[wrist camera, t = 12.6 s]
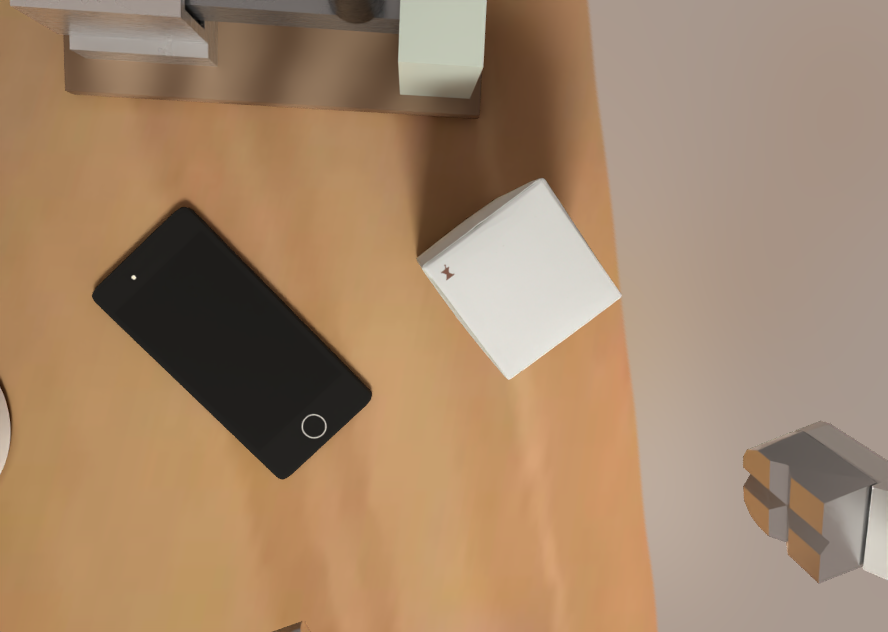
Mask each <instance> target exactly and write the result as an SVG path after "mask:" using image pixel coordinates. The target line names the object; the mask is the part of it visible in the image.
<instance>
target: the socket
mask: <svg viewBox="0 0 888 632" xmlns="http://www.w3.org/2000/svg"><path fill="white" fill-rule="evenodd" d="M486 4H487V0H400V23H399V51H398V68H399V85H400V95H416V96H432V97H448V98H465V99H470V97H471V94H472V92H473V90H474V87H475V85H476V83H477V81H478V78H479V76H480V74H481V71H482V69H483V62H484V43H485V23H486Z"/></svg>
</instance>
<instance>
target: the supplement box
mask: <svg viewBox="0 0 888 632" xmlns="http://www.w3.org/2000/svg"><path fill="white" fill-rule="evenodd" d="M417 261H418V263H419V265H420V266H421V268H422V270H423V271H424V273H425V274H426V276H427V277H428V278H429V280H430V281H431V283H432V284H433V286H434V287H435V288H436V290H437V291H438V293H439V294H440V295H441V297H442V298H443V300H444V301H445V302H446V304H447V305H448V306H449V308H450V309H451V310H452V312H453V313H454V314H455V316H456V317H457V318H458V320H459V321H460V322H461V324H462V325H463V326H464V327H465V329H466V330H467V331H468V333H469V334H470V335H471V336H472V338H473V339H474V340H475V341H476V343H477V344H478V345H479V346H480V347H481V349H482V350H483V351H484V352H485V354H486V355H487V356H488V357H489V358H490V360H491V361H492V362H493V363H494V364H495V365H496V367H497V368H498V369H499V370H500V371H501V373H502V374H503V375H504V376H505V377H506V378H507V379H511V378H512V377H514V376H515V375H517V374H518V373H520V372H521V371H522V370H524V369H525V368H527V367H528V366H529V365H531V364H532V363H534V362H535V361H536V360H538V359H539V358H540V357H542V356H543V355H544V354H546V353H547V352H548V351H550V350H551V349H552V348H554V347H555V346H556V345H558V344H559V343H561V342H562V341H563V340H565V339H566V338H567V337H569V336H570V335H571V334H573V333H574V332H575V331H577V330H578V329H580V328H581V327H582V326H584V325H585V324H586V323H588V322H589V321H590V320H592V319H593V318H594V317H596V316H597V315H598V314H600V313H601V312H602V311H604V310H605V309H606V308H607V307H609V306H610V305H611V304H613V303H614V302H615V301H617V300H618V299H620V298H621V297H622V294H621V293H620V292H619V290H618V289H617V287H616V286H615V284H614V283H613V282H612V280H611V279H610V277H609V276H608V274H607V273H606V271H605V270H604V268H603V267H602V265H601V264H600V262H599V261H598V259H597V258H596V256H595V255H594V253H593V252H592V250H591V249H590V247H589V246H588V244H587V243H586V241H585V240H584V238H583V236H582V235H581V233H580V232H579V230H578V229H577V227H576V226H575V224H574V223H573V221H572V220H571V218H570V217H569V215H568V214H567V212H566V210H565V209H564V207H563V206H562V204H561V203H560V201H559V200H558V198H557V197H556V195H555V194H554V192H553V191H552V189H551V188H550V186H549V184H548V183H547V181H546V180H545V179H544V178H539V179H537V180H534V181H531V182H529V183H527V184H525V185H523V186H521V187H519V188H517V189H515V190H513V191H511V192H509V193H507V194H505V195H502V196H500V197H498V198H496V199H495V200H493V201H492V202H490V203H489V204H487V205H486V206H485V207H483V208H482V209H480V210H479V211H477V212H476V213H475V214H473V215H472V216H470V217H469V218H468V219H466V220H465V221H463V222H462V223H461V224H459V225H458V226H457V227H455V228H454V229H453V230H452V231H450V232H449V233H448V234H446V235H445V236H444V237H442V238H441V239H440V240H439V241H437V242H436V243H435V244H434V245H432V246H431V247H430V248H429V249H427V250H426V251H425V252H423V253H422V254H421V255H420V256H418V257H417Z"/></svg>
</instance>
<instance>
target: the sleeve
mask: <svg viewBox="0 0 888 632" xmlns="http://www.w3.org/2000/svg"><path fill="white" fill-rule="evenodd" d="M10 6H12V7H13V8H15V9H17V10H18V11H20V12H22V13H23V14H25V15H27V16H28V17H30V18H32V19H34V20H35V21H37V22H39V23H40V24H42V25H44V26H45V27H47V28H49V29H50V30H52V31H54V32H56V33H57V34H60V35H69V39H70V50H72V51H74V52H75V53H77V54H79V55H81V56H83V57H84V58H88V59H103V60H119V61H135V62H151V63H166V64H182V65H198V66H214V67H217V34H218V22H215V21H200V20H194V19H193V18H192V17H191V16H190V15H189V14H188V12H187V11H186V10H185V0H10Z"/></svg>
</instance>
